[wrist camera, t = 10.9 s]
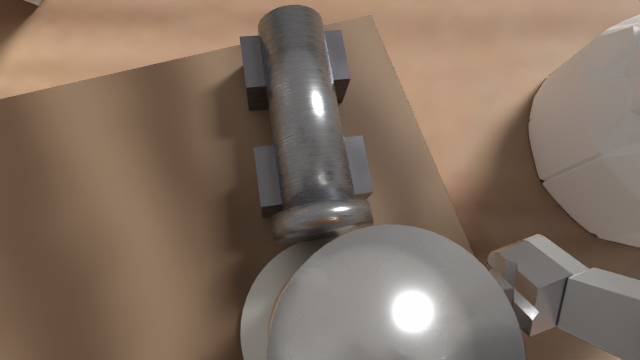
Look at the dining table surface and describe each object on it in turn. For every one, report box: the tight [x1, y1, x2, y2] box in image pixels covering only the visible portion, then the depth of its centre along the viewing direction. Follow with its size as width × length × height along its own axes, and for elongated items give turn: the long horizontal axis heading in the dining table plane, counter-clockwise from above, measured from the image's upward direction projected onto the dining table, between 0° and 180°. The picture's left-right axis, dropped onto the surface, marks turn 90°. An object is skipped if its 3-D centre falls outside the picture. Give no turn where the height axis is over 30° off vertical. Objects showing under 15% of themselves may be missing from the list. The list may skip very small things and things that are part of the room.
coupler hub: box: [266, 224, 526, 360], centre depth 12 cm, size 5×5×9 cm
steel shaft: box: [240, 5, 374, 243], centre depth 17 cm, size 9×4×4 cm, turn 9°
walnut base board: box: [0, 15, 475, 360], centre depth 16 cm, size 22×26×2 cm
